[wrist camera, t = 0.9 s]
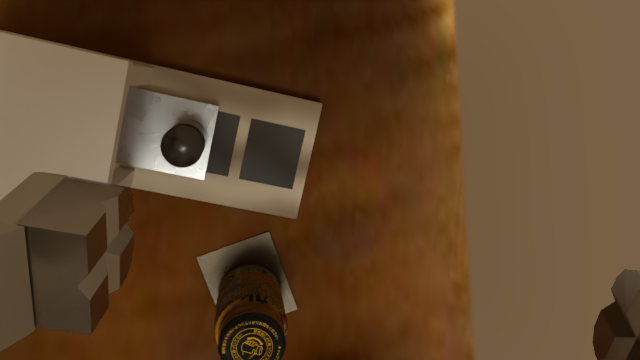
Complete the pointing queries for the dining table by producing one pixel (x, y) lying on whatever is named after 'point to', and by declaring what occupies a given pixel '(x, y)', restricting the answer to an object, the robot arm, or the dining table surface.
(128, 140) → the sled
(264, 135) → the track
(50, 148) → the tunnel
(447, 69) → the dining table surface
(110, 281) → the robot arm
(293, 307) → the condiment
